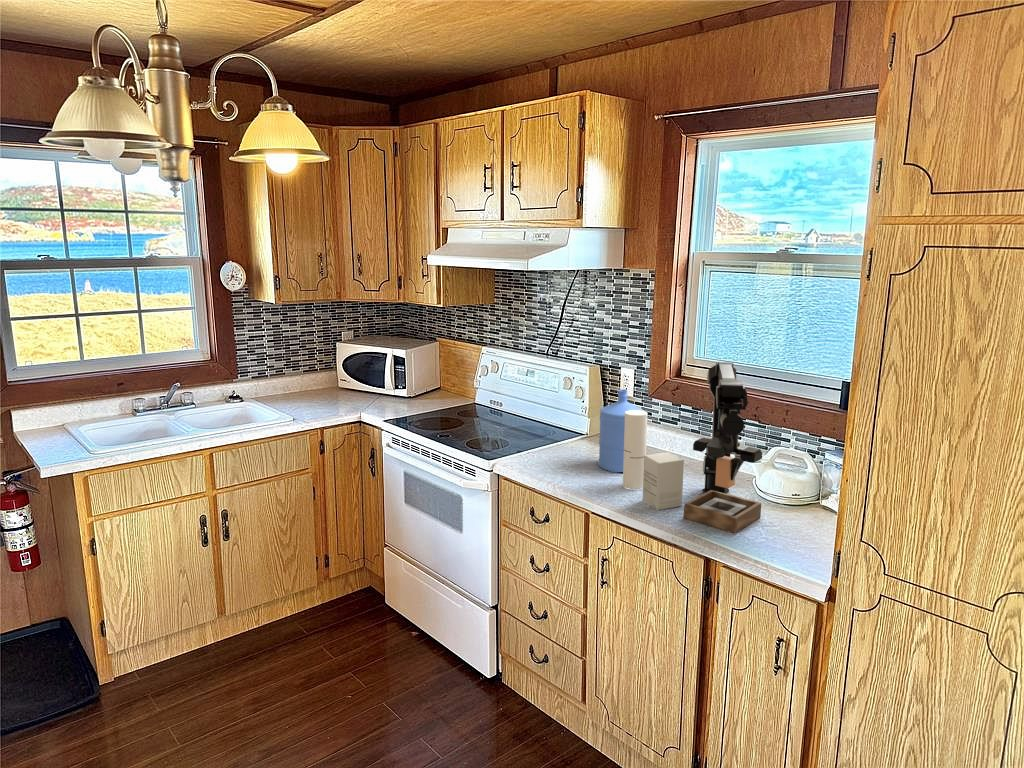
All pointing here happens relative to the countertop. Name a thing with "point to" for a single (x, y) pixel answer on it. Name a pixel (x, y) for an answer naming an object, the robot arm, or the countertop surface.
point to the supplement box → (663, 480)
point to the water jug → (613, 433)
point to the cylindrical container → (634, 448)
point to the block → (724, 472)
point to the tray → (722, 517)
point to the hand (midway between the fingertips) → (725, 478)
